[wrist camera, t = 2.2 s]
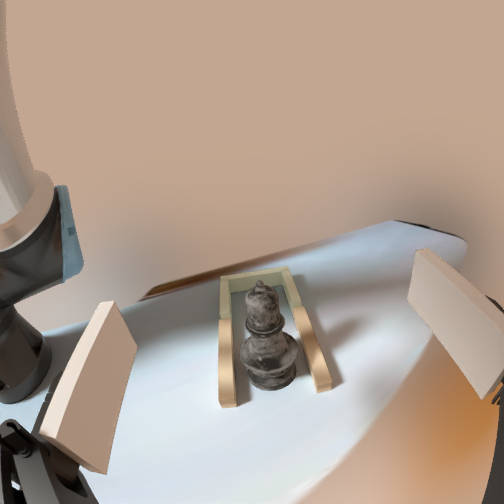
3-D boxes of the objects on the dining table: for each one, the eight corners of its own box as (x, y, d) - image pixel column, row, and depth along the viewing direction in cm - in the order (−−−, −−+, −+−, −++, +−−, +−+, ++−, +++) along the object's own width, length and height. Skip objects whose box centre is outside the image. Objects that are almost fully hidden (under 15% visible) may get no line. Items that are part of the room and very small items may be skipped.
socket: (301, 315, 35) (301, 300, 34) (223, 327, 35) (219, 313, 34) (288, 279, 43) (287, 265, 42) (223, 289, 43) (220, 276, 42)
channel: (331, 389, 24) (332, 381, 23) (221, 408, 24) (218, 400, 23) (304, 314, 35) (303, 305, 34) (221, 328, 35) (218, 319, 34)
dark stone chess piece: (275, 344, 31) (265, 254, 26) (310, 371, 27) (311, 278, 21) (234, 369, 28) (210, 280, 23) (266, 402, 24) (250, 313, 18)
